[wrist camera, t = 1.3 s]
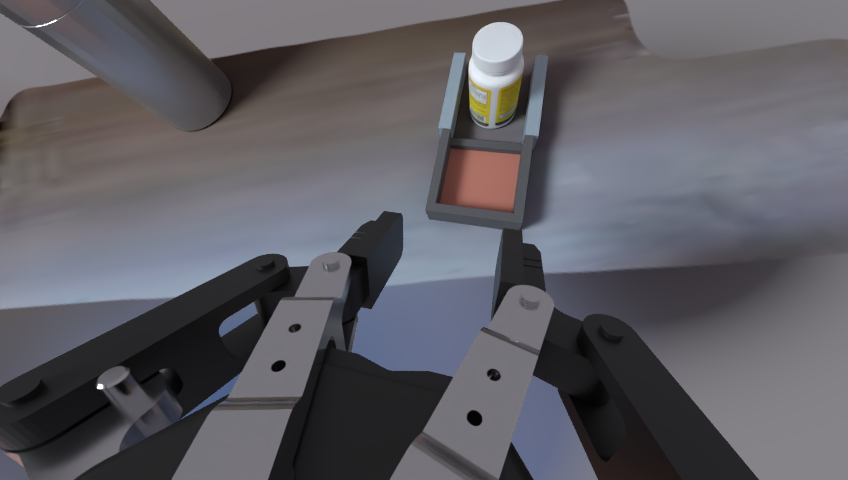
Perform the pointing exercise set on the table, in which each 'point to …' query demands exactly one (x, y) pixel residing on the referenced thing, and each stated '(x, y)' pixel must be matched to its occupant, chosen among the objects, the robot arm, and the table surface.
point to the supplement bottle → (495, 74)
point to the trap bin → (480, 182)
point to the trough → (456, 89)
